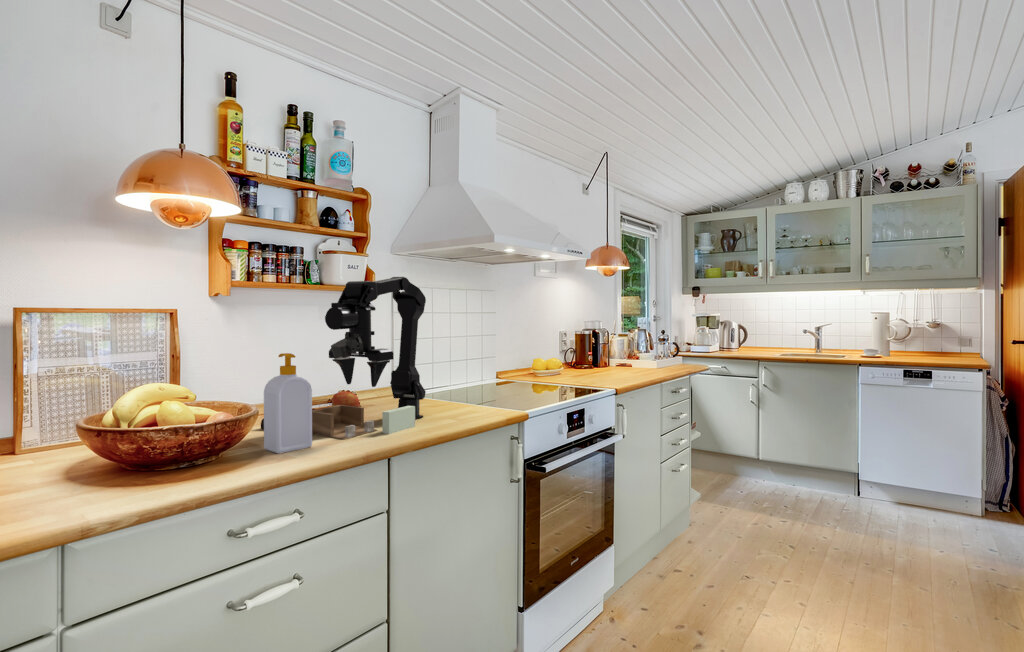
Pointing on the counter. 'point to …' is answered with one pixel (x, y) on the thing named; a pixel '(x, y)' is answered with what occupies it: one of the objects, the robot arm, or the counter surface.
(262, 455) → the counter surface
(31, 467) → the counter surface
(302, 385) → the soap bottle
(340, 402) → the orange-red spiky ball
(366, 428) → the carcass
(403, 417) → the door
